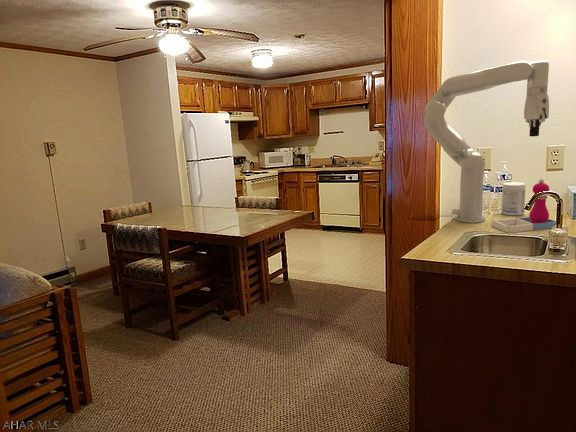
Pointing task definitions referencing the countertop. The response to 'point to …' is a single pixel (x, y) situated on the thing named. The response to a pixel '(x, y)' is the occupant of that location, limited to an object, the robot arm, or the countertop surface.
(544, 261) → the countertop surface
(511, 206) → the supplement tub
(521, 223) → the frame
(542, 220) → the pepper mill
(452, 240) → the countertop surface
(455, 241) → the countertop surface
